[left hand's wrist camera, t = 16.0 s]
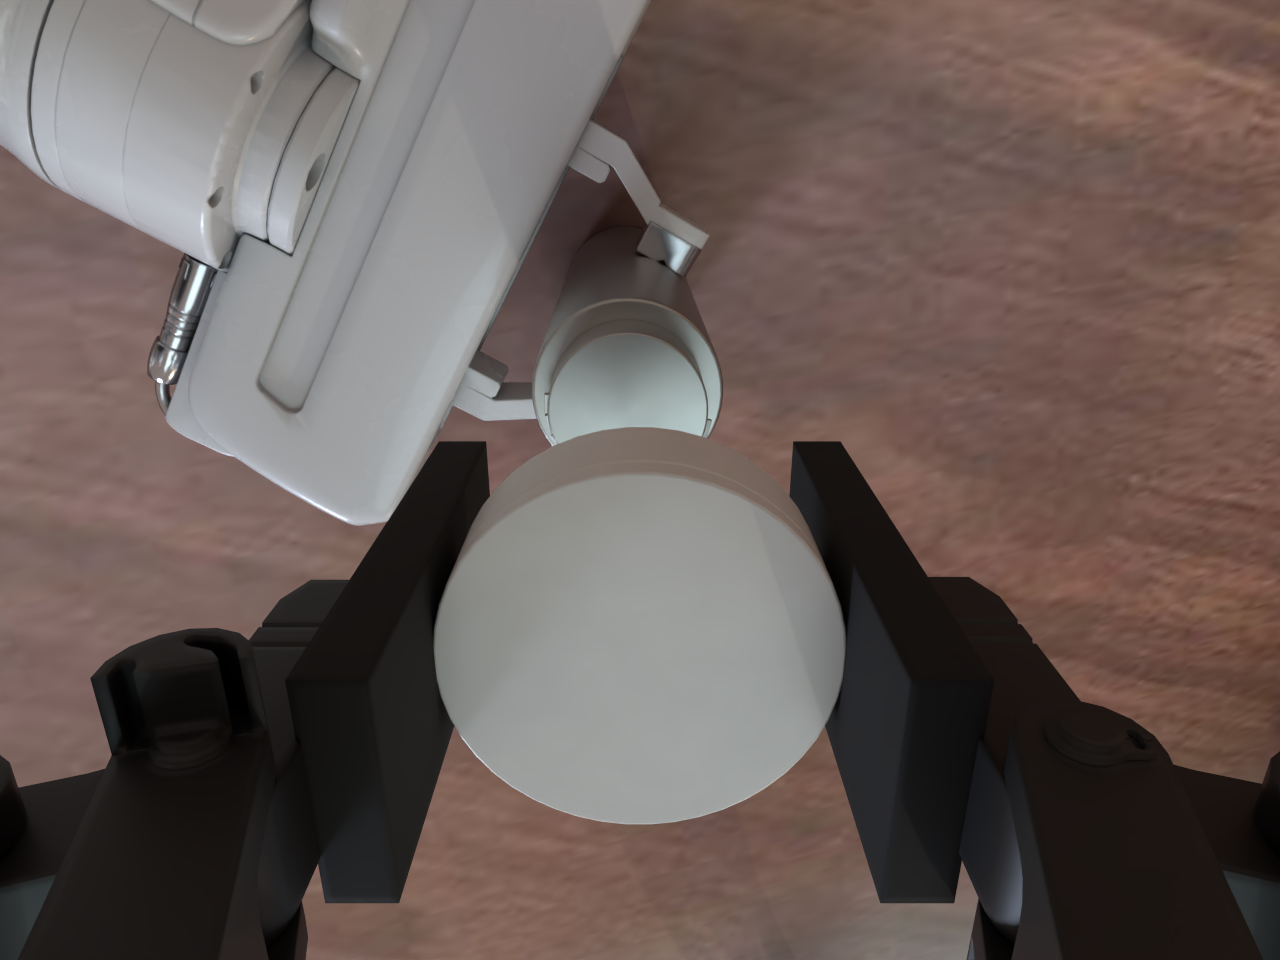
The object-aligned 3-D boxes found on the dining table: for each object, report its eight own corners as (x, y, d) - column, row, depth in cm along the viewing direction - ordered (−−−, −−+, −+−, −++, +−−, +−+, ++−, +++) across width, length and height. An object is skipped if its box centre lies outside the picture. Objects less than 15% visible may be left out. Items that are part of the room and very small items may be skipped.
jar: (555, 326, 34) (505, 479, 20) (583, 211, 33) (551, 284, 18) (665, 355, 35) (695, 526, 20) (698, 244, 33) (757, 342, 19)
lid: (857, 692, 12) (887, 769, 11) (535, 779, 13) (522, 864, 12) (766, 375, 11) (787, 414, 9) (398, 492, 11) (362, 547, 10)
